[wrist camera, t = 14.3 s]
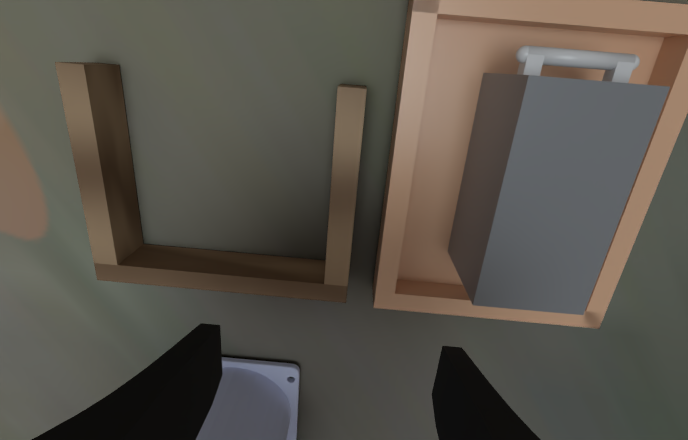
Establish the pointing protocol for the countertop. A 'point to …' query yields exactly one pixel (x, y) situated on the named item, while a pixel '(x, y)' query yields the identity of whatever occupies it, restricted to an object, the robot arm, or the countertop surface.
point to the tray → (457, 121)
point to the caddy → (549, 178)
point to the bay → (188, 263)
